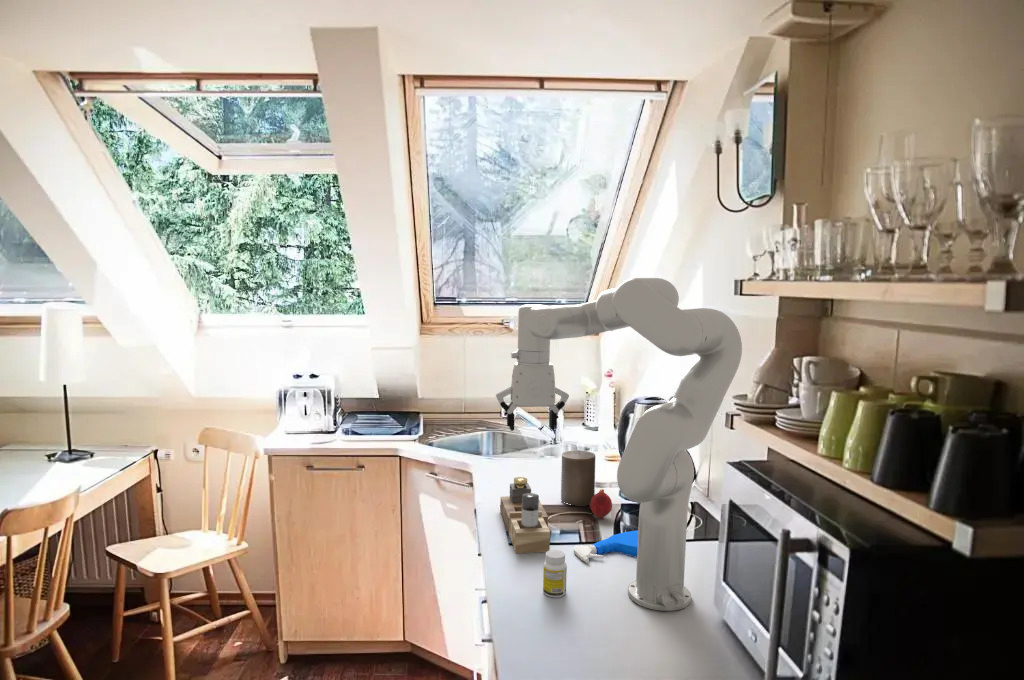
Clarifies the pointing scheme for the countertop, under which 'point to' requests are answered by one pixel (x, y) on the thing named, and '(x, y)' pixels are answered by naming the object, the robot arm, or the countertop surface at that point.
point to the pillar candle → (578, 477)
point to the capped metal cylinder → (530, 510)
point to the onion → (601, 504)
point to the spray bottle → (610, 546)
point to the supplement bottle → (554, 574)
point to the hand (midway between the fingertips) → (531, 429)
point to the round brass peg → (520, 482)
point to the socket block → (517, 503)
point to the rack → (528, 535)
